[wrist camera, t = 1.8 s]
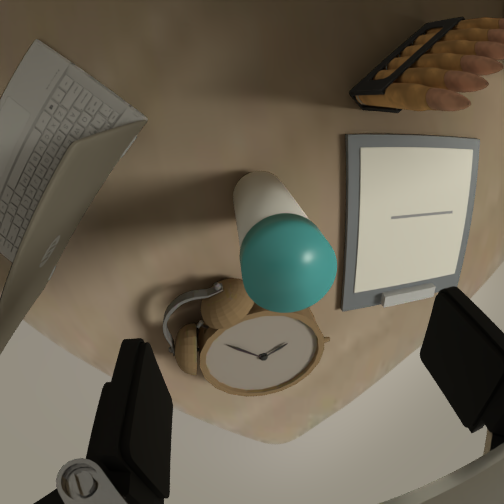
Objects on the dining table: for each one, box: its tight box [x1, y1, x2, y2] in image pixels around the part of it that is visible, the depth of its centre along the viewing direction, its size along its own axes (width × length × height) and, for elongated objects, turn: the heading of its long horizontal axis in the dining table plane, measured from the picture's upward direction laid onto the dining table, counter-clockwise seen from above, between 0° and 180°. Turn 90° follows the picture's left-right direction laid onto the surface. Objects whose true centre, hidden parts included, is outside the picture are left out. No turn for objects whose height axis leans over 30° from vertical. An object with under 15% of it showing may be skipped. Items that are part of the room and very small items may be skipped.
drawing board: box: [341, 134, 480, 311], centre depth 26 cm, size 14×16×1 cm
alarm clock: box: [163, 278, 330, 396], centre depth 28 cm, size 11×5×15 cm
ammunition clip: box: [349, 17, 504, 113], centre depth 15 cm, size 11×2×12 cm, turn 136°
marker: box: [233, 171, 337, 313], centre depth 19 cm, size 4×4×12 cm
